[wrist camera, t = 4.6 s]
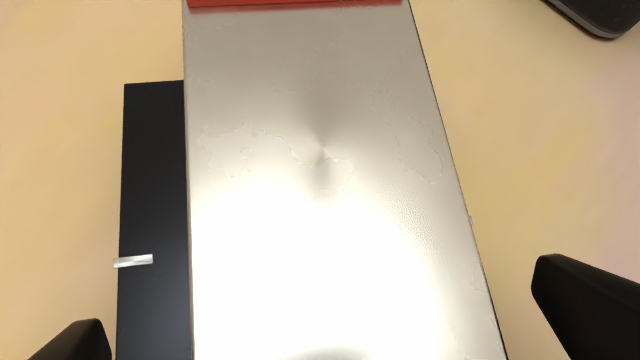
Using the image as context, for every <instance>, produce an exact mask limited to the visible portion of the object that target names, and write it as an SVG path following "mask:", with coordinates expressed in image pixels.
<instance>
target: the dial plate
mask: <svg viewBox="0 0 640 360" xmlns="http://www.w3.org/2000/svg"><path fill="white" fill-rule="evenodd" d="M469 219H470V222H471V225H473V222H472V219H471V216H469ZM113 268H115V269H116V268H118V295H117V327H116V358H115V360H192V358H191V322H190V286H189V251H188V215H187V179H186V143H185V107H184V80H176V81H161V82H146V83H130V84H124V107H123V138H122V169H121V201H120V232H119V258H114V264H113Z"/></svg>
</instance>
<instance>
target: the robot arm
mask: <svg viewBox="0 0 640 360" xmlns="http://www.w3.org/2000/svg"><path fill="white" fill-rule="evenodd" d="M531 291H532V295H533V297H534V299H535V301H536V303H537V304H538V306H539V308H540V309H541V311H542V313H543V314H544V316H545V318H546V319H547V321H548V323H549V324H550V326H551V328H552V329H553V331H554V333H555V334H556V336H557V338H558V339H559V341H560V343H561V344H562V346H563V348H564V349H565V351H566V352H567V354H568V356H569V357H570V359H571V360H640V284H639V283H636V282H634V281H631V280H628V279H626V278H623V277H620V276H618V275H615V274H612V273H610V272H607V271H604V270H602V269H599V268H596V267H593V266H591V265H588V264H585V263H583V262H580V261H577V260H575V259H572V258H569V257H567V256H564V255H561V254H549V255H542V256H540V257H539V258H538V259H537V261H536V265H535V270H534V274H533V279H532V283H531ZM28 360H112V353H111V348H110V345H109V342H108V339H107V337H106V334H105V331H104V328H103V325H102V323H101V321H100V320H99V319H96V318H93V319H86V320H79V321H75V322H73V323H72V324H70V325H69V326H68V327H67V328H66V329H64V330H63V331H62V332H61V333H59V334H58V335H57V336H56V337H55V338H53V339H52V340H51V341H50V342H49V343H47V344H46V345H45V346H44V347H42V348H41V349H40V350H39V351H38V352H36V353H35V354H34V355H33V356H32V357H30V358H29V359H28Z"/></svg>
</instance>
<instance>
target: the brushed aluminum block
mask: <svg viewBox="0 0 640 360" xmlns="http://www.w3.org/2000/svg"><path fill="white" fill-rule="evenodd" d="M182 36H183V72H184V107H185V143H186V179H187V215H188V251H189V286H190V322H191V358H192V360H508V356H507V352H506V349H505V345H504V342H503V338H502V334H501V331H500V327H499V323H498V320H497V316H496V313H495V309H494V305H493V302H492V298H491V295H490V291H489V287H488V284H487V280H486V277H485V273H484V269H483V266H482V262H481V258H480V255H479V251H478V248H477V244H476V240H475V237H474V233H473V230H472V226H471V222H470V219H469V215H468V211H467V208H466V204H465V201H464V197H463V193H462V190H461V186H460V183H459V179H458V175H457V172H456V168H455V165H454V161H453V157H452V154H451V150H450V146H449V143H448V139H447V136H446V132H445V128H444V125H443V121H442V118H441V114H440V110H439V107H438V103H437V100H436V96H435V92H434V89H433V85H432V81H431V78H430V74H429V71H428V67H427V63H426V60H425V56H424V53H423V49H422V45H421V42H420V38H419V34H418V31H417V27H416V24H415V20H414V16H413V13H412V9H411V6H410V2H409V0H182Z"/></svg>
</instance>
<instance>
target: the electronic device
mask: <svg viewBox="0 0 640 360" xmlns="http://www.w3.org/2000/svg"><path fill="white" fill-rule="evenodd" d="M547 1H549V2H550V3H551V4H553V5H554V6H555V7H557V8H558V9H559V10H561V11H562V12H563V13H565V14H566V15H567V16H569V17H570V18H571V19H573V20H574V21H575V22H577V23H578V24H579V25H581V26H582V27H583V28H585V29H586V30H588V31H589V32H591V33H593V34H595V35H597V36H601V37H609V38H615V37H620V36H622V35H623V34H625V33H626V32H627V31H629V30H630V29H631V28H632V27H633V26H634V25H635V24H637V23H638V22H639V21H640V0H547Z"/></svg>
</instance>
